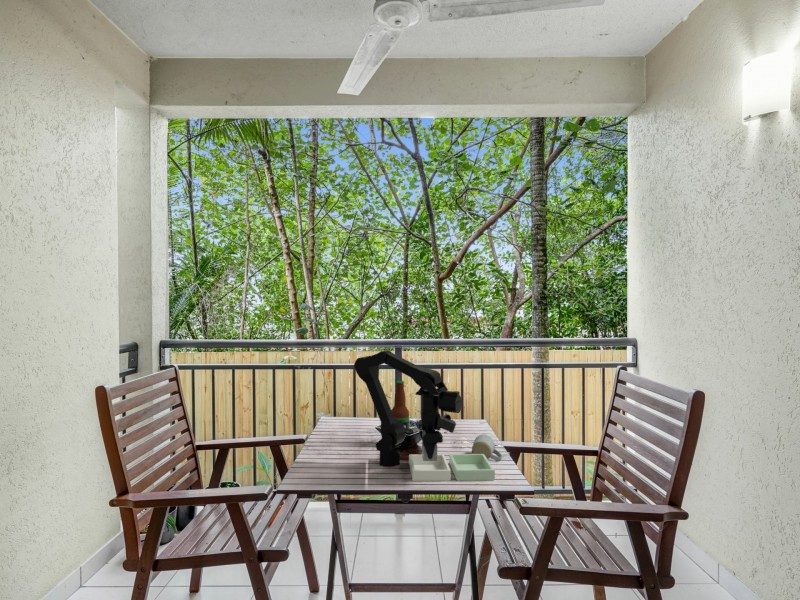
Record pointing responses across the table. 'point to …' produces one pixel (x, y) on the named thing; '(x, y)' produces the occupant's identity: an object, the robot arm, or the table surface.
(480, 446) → the ceramic mug
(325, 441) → the table surface
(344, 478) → the table surface
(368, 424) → the table surface
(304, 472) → the table surface
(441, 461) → the cream bin
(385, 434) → the robot arm
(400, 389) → the bottle
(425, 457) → the stone block
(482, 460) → the green bin
